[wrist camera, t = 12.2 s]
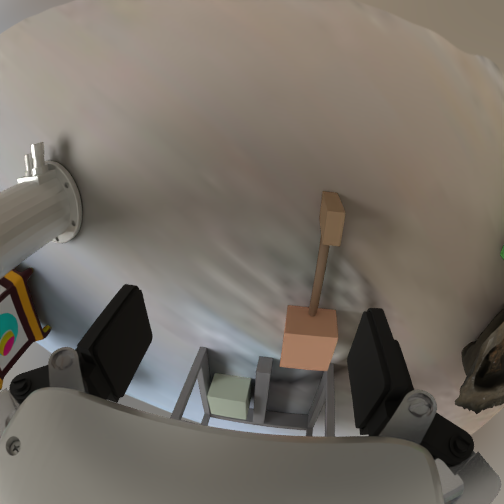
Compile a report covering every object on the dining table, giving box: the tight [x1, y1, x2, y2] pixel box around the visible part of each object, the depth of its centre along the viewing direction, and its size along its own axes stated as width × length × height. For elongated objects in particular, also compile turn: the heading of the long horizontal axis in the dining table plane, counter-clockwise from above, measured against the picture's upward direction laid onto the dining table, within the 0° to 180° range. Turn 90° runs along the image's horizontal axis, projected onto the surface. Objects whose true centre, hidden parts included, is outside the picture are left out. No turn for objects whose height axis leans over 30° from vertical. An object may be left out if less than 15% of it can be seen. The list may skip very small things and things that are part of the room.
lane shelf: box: [171, 347, 335, 437], centre depth 37 cm, size 17×20×14 cm
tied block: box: [280, 191, 345, 371], centre depth 29 cm, size 20×6×6 cm, turn 178°
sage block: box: [207, 373, 251, 420], centre depth 42 cm, size 6×6×5 cm
